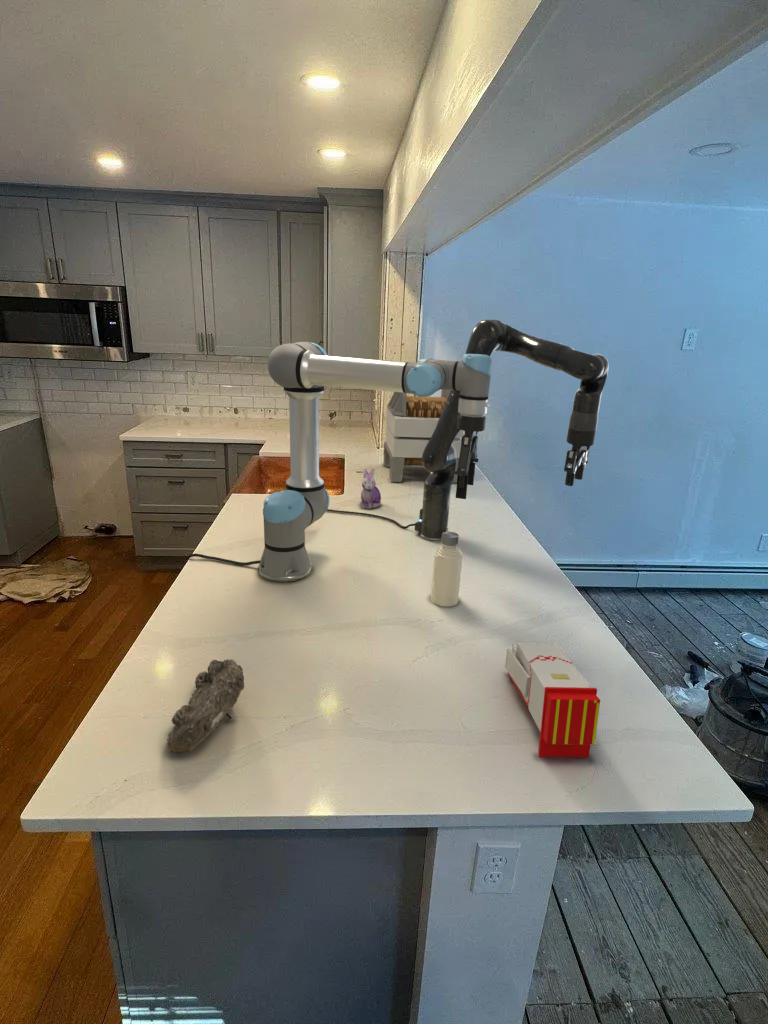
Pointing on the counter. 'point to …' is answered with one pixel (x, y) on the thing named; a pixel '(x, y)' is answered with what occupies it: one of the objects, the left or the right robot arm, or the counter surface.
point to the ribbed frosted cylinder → (446, 575)
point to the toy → (555, 698)
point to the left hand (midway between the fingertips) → (464, 491)
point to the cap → (449, 538)
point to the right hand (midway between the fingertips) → (573, 482)
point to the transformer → (412, 431)
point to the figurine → (369, 491)
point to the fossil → (206, 705)
